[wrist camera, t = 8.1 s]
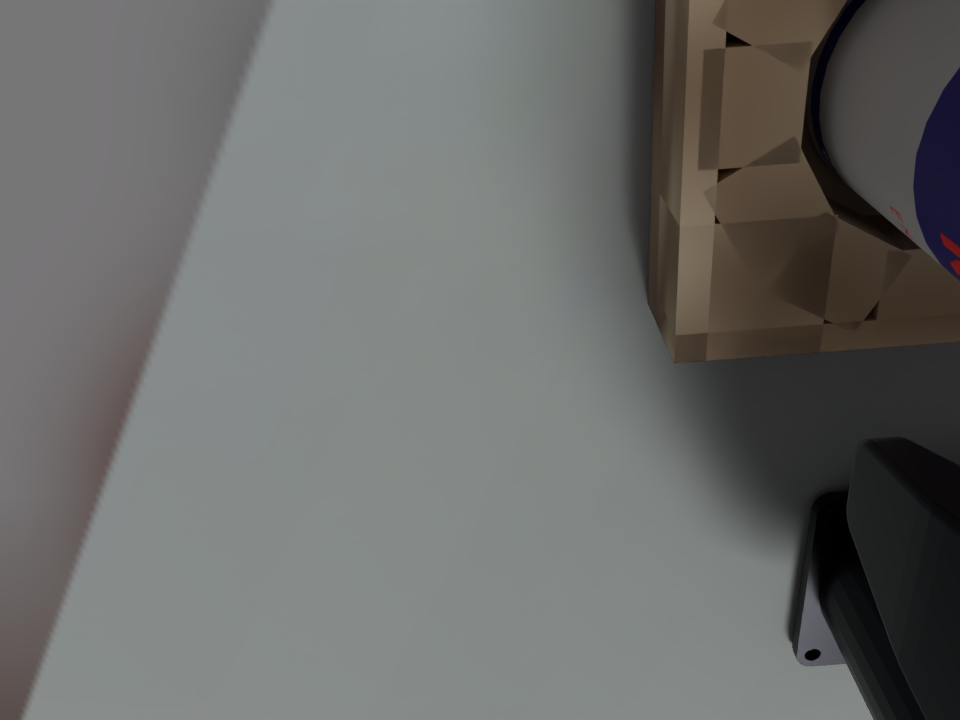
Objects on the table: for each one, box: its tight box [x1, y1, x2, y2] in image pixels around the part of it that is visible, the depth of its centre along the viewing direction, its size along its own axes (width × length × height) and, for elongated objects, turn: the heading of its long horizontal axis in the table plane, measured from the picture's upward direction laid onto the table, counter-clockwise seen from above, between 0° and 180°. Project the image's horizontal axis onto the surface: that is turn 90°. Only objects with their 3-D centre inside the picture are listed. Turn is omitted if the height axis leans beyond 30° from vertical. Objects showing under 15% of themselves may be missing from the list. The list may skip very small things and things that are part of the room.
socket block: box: [648, 0, 960, 363], centre depth 19 cm, size 11×11×3 cm
